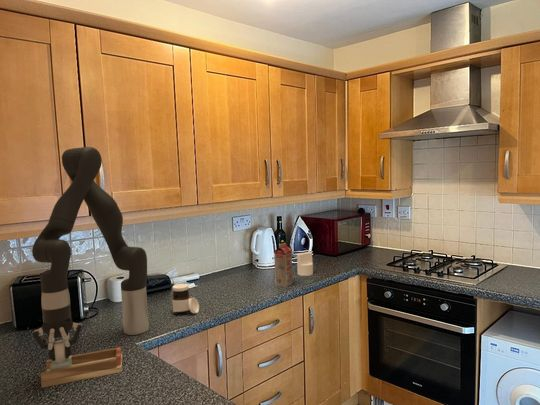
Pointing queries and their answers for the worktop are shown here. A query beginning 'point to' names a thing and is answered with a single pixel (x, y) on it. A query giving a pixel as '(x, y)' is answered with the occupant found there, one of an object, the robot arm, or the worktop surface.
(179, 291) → the spread jar
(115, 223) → the robot arm
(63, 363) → the slider
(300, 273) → the cylinder with rectangular tab
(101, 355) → the track
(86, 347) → the worktop surface
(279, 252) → the juice carton
